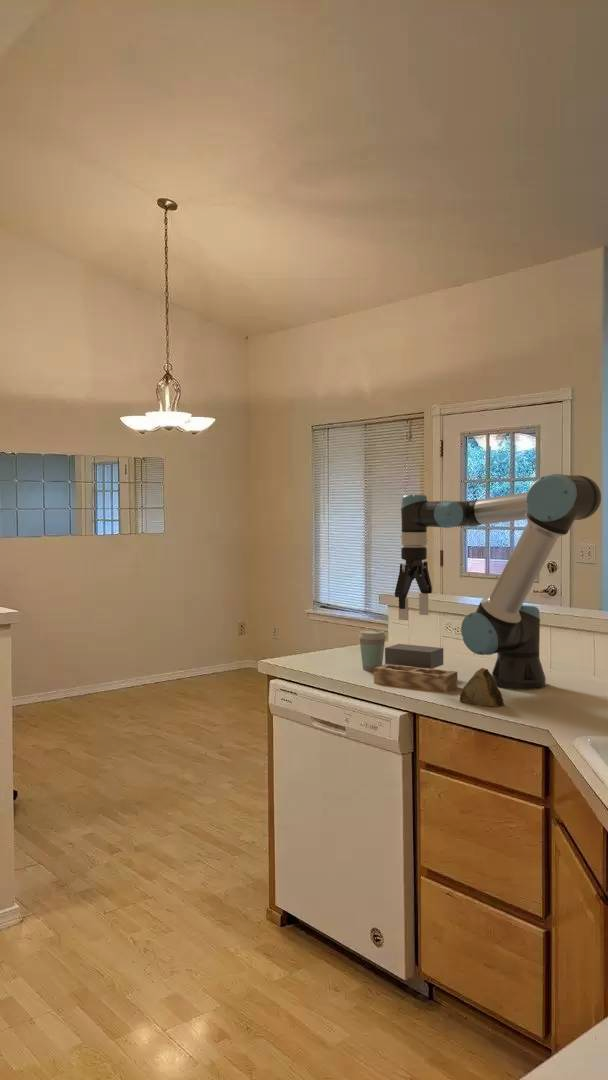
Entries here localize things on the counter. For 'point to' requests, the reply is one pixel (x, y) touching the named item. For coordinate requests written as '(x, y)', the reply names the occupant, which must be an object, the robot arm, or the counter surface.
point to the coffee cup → (372, 648)
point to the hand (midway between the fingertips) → (413, 617)
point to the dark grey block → (414, 656)
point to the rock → (482, 690)
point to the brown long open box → (415, 677)
